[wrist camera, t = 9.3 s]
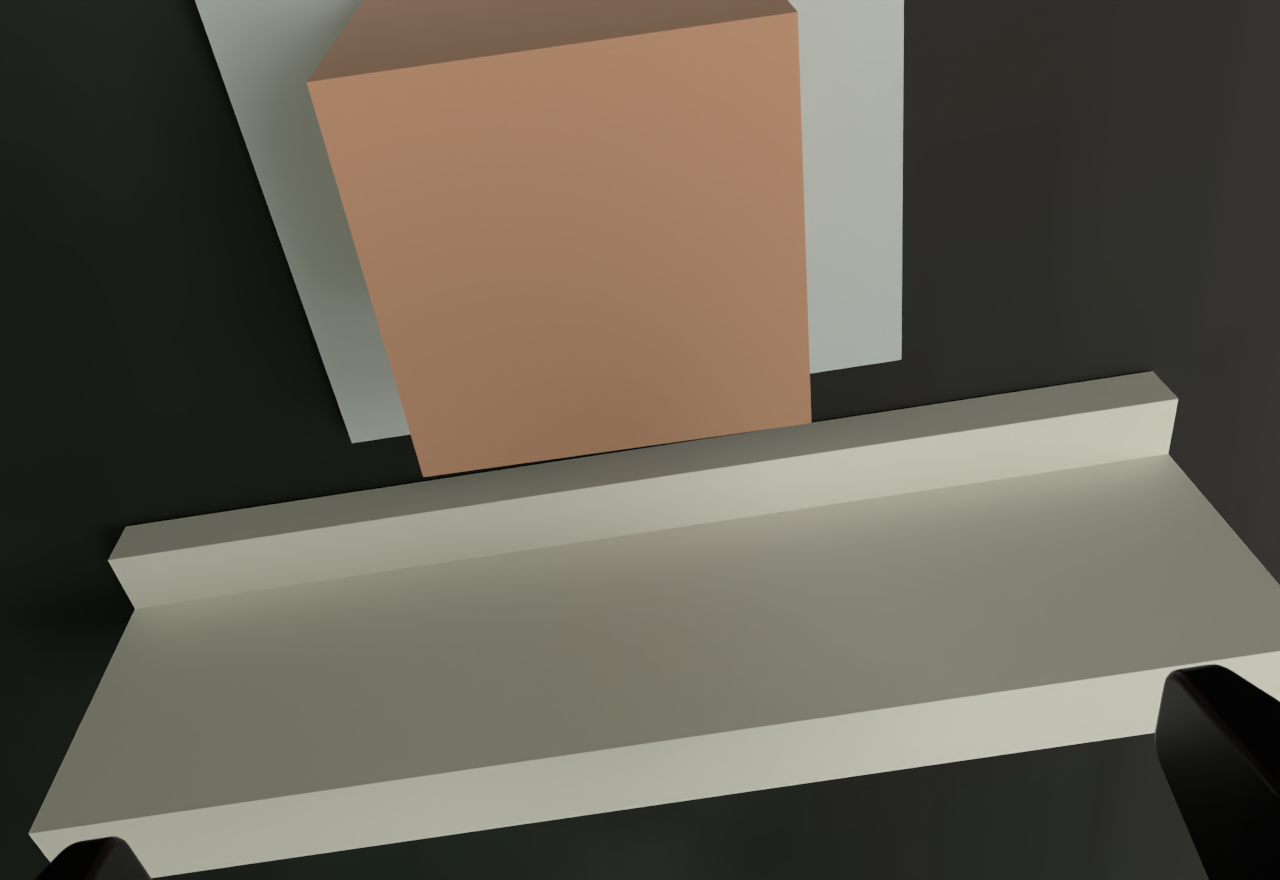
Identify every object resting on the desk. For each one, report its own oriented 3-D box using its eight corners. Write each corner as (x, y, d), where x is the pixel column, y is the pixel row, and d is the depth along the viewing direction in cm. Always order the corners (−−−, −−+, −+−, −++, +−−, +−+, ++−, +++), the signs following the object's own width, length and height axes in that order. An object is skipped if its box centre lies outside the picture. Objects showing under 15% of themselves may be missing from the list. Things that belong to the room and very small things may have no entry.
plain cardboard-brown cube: (750, 270, 18) (812, 436, 13) (456, 312, 18) (427, 489, 14) (728, -69, 15) (797, 11, 11) (375, -17, 15) (306, 82, 11)
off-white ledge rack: (1126, 531, 22) (1290, 761, 17) (202, 668, 23) (103, 932, 18) (1152, 370, 20) (1350, 582, 15) (125, 526, 20) (-11, 782, 15)
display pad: (892, 343, 19) (901, 359, 19) (357, 424, 19) (352, 443, 19) (893, -324, 14) (905, -326, 13) (140, -199, 14) (124, -197, 13)
